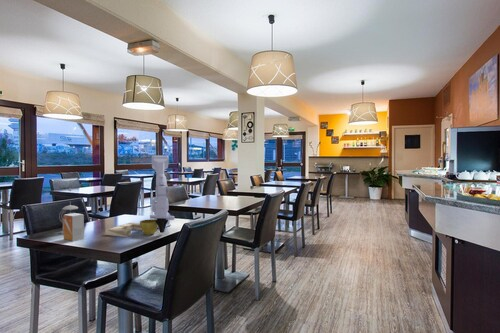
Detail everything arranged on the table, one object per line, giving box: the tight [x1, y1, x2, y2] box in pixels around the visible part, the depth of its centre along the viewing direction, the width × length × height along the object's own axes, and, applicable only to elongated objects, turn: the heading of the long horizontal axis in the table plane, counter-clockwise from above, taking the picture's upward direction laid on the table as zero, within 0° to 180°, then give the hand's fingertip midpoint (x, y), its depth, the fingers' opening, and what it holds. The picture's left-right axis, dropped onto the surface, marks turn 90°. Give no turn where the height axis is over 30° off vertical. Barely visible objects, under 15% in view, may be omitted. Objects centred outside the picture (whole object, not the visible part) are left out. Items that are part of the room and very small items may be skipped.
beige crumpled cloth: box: [105, 222, 142, 238], centre depth 179 cm, size 20×14×3 cm
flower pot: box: [139, 218, 158, 236], centre depth 175 cm, size 10×10×7 cm
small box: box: [62, 212, 85, 242], centre depth 163 cm, size 8×6×13 cm
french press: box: [58, 188, 79, 235], centre depth 180 cm, size 10×12×25 cm
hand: (162, 232), depth 172 cm, fingers closed
